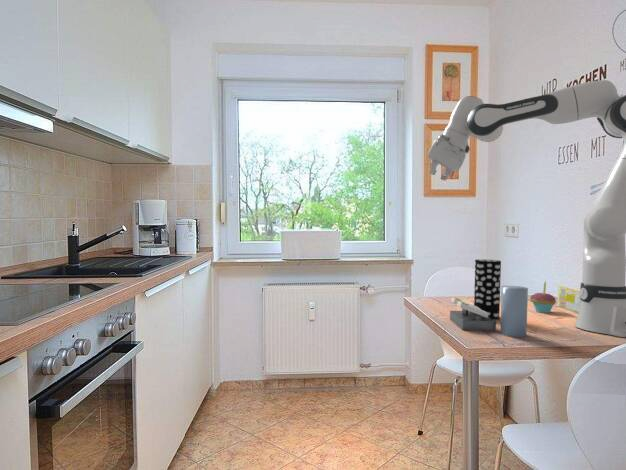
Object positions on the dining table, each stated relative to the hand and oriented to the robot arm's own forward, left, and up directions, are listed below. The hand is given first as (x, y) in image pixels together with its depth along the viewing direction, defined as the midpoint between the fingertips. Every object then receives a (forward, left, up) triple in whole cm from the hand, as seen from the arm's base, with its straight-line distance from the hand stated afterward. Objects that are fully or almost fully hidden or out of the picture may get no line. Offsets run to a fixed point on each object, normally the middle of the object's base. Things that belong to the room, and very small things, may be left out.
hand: (437, 177), depth 151 cm
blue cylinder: (-16, +29, -50) cm, 60 cm away
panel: (-7, +19, -50) cm, 54 cm away
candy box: (-54, -9, -50) cm, 75 cm away
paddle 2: (-6, +23, -44) cm, 50 cm away
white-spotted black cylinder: (-16, +7, -50) cm, 53 cm away
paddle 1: (-6, +16, -44) cm, 47 cm away
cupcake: (-41, -5, -50) cm, 65 cm away
